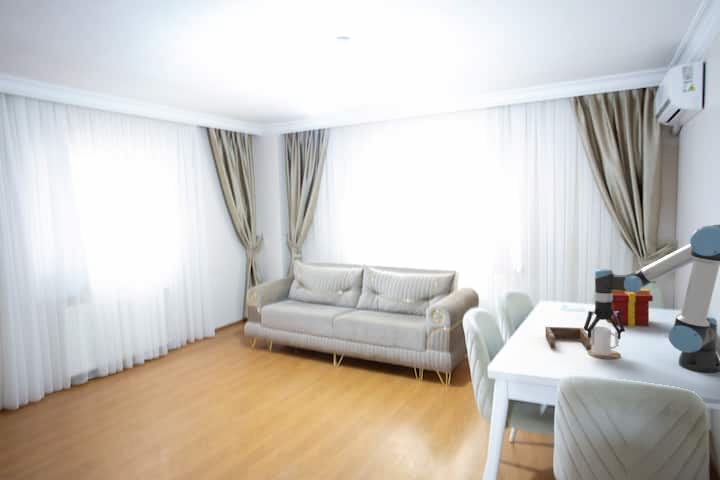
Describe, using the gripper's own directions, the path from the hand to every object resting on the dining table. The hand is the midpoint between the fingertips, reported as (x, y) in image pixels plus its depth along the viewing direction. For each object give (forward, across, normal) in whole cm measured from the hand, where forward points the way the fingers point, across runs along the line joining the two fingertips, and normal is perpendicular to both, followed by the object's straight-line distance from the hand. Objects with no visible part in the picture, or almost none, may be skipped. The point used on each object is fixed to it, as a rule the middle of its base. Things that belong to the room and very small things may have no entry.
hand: (603, 344), depth 218 cm
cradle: (+5, +14, -16) cm, 22 cm away
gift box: (+5, -28, -67) cm, 73 cm away
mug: (+4, 0, 0) cm, 4 cm away
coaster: (+5, 0, 0) cm, 5 cm away
